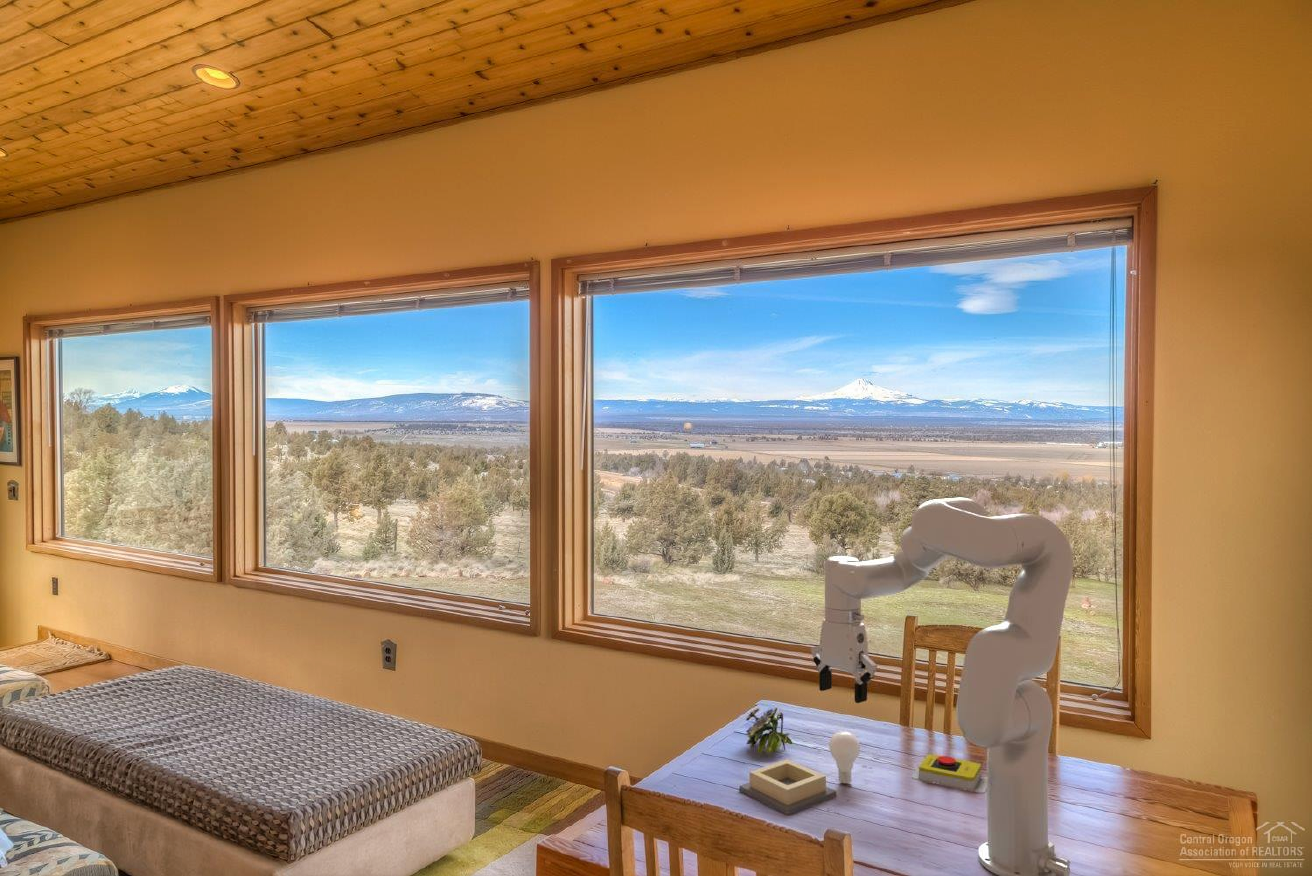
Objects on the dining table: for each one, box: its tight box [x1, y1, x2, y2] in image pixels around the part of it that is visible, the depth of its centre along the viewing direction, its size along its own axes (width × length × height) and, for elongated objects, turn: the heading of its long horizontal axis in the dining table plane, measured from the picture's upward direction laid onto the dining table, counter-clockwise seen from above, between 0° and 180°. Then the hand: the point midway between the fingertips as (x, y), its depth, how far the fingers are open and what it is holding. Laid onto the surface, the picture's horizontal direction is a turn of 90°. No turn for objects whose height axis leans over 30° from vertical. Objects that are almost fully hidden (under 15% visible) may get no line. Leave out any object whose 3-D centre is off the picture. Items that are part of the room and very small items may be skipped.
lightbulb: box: [828, 730, 861, 785], centre depth 175 cm, size 6×6×11 cm
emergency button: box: [911, 753, 987, 794], centre depth 177 cm, size 9×4×15 cm
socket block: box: [739, 758, 837, 816], centre depth 170 cm, size 14×14×4 cm
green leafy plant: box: [745, 707, 793, 758], centre depth 195 cm, size 11×11×12 cm
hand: (842, 695), depth 175 cm, fingers open, 9 cm apart
